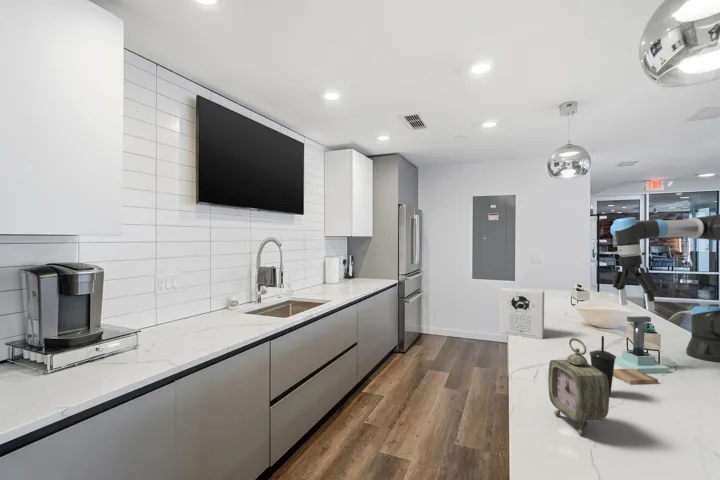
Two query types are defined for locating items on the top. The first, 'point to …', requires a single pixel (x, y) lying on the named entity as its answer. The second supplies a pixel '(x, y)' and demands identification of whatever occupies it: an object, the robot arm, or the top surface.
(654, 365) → the square socket base
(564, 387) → the tabletop clock
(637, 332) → the t key
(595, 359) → the drinking cup
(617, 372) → the walnut pad
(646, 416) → the top surface
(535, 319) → the cereal box
